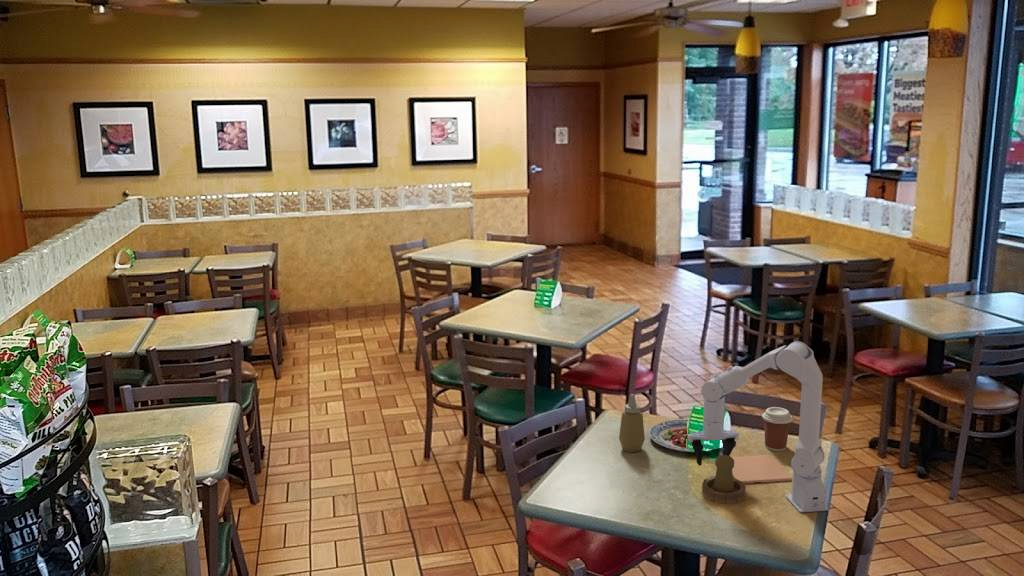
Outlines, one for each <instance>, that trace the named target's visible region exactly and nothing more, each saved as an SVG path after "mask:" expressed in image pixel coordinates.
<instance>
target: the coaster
mask: <svg viewBox="0 0 1024 576" xmlns="http://www.w3.org/2000/svg"><path fill="white" fill-rule="evenodd" d="M731 457H732V458H733V459H734V468H733V469H732V473H733V478H735V479H737V480H739V481H741V482H742V483H743V484H744V485H745V484H755V483H754V482H761V483H773V482H786V481H791V482H792V480H793V477H792V476H790V474H789V473H788V472H787V471H786V470H785V469H784V468H783V467H782V466H781V464H779V463H778V462H777V461H776V460H775V459H774V458H773V456H771V455H770V454H761V455H758V454H757V455H745V456H731Z"/></svg>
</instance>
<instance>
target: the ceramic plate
mask: <svg viewBox="0 0 1024 576" xmlns="http://www.w3.org/2000/svg"><path fill="white" fill-rule="evenodd" d="M688 420H689V419H687V418H686V419H672V420H665V421H662V422H658V423H657V424H654V425H653V426H652V427H651V428H650V429H649V432H648V434H649V437H650V439H651V440H652V441H653V442H654V443H656V444H658V445H659V446H662V447H664V448H666V449H671V450H675V451H679V452H689V453H695V451H693V450H690V449H686V439H687V421H688Z"/></svg>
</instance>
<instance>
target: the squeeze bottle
mask: <svg viewBox="0 0 1024 576" xmlns="http://www.w3.org/2000/svg"><path fill="white" fill-rule="evenodd" d="M628 400H629V401H628V403H627V404H625V405H624V410H623V411H622V413H621V419H620V425H619V426H620V427H619V434H618V435H619V437H618V438H619V439H618V440H619V441H620V442H619V443H620V446H621V448H622V449H623V450H624V451H626V452H630V453H636V452H640V451H641V450H642V449H643V445H644V443H645V426H644V416H643V414H644V413H642V411H640V409H641V407H640V405H639V404H638V403H637V402H636V397H635V394H632V393H631V394H630V395H629V399H628Z"/></svg>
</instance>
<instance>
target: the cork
mask: <svg viewBox="0 0 1024 576" xmlns="http://www.w3.org/2000/svg"><path fill="white" fill-rule="evenodd" d="M732 457H733V456H728V455H722V454H721V455H718V456H717V457H716V458H715V461H714V465H715V467H716V471H715V475H714V476H715V481H714V486H713V487H712V490H714V491H717V492H722V493H733V492H735V489H734V483H733V473H732V469H733V468H734V459H733V458H732Z"/></svg>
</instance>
